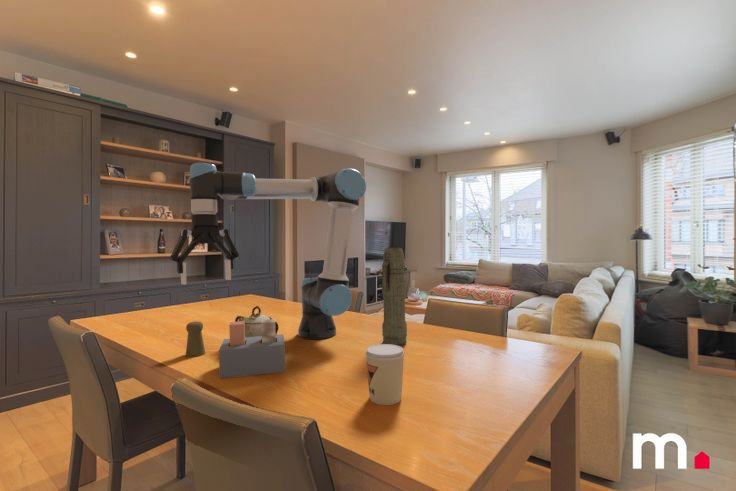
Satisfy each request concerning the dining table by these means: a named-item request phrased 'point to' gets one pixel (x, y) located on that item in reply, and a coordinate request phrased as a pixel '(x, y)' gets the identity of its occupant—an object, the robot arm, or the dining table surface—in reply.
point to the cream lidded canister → (385, 373)
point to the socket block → (252, 357)
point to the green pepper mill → (194, 339)
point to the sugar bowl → (254, 323)
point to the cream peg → (268, 331)
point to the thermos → (394, 297)
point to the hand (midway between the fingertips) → (206, 281)
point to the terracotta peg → (237, 333)
